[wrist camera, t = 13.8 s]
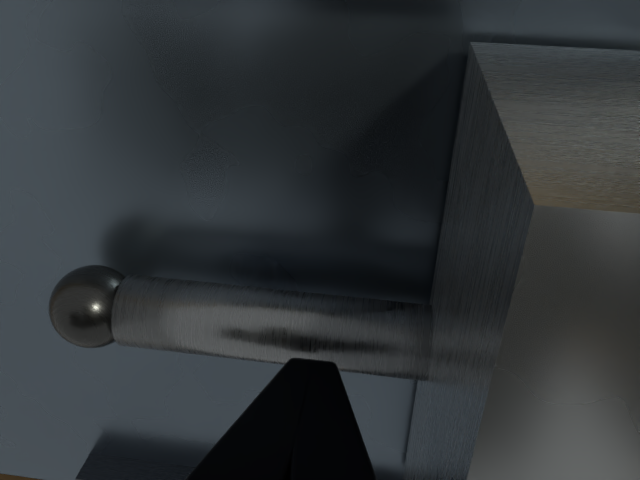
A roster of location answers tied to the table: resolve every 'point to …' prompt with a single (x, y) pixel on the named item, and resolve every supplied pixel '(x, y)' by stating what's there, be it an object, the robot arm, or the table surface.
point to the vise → (226, 193)
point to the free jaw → (466, 286)
